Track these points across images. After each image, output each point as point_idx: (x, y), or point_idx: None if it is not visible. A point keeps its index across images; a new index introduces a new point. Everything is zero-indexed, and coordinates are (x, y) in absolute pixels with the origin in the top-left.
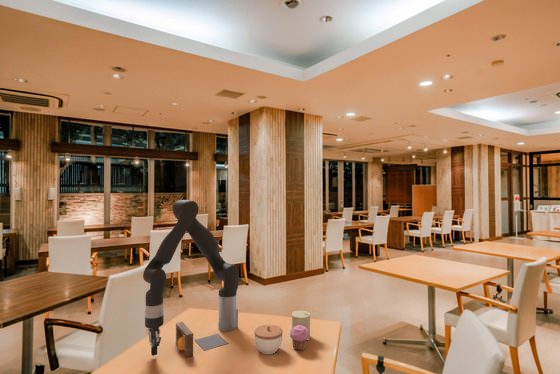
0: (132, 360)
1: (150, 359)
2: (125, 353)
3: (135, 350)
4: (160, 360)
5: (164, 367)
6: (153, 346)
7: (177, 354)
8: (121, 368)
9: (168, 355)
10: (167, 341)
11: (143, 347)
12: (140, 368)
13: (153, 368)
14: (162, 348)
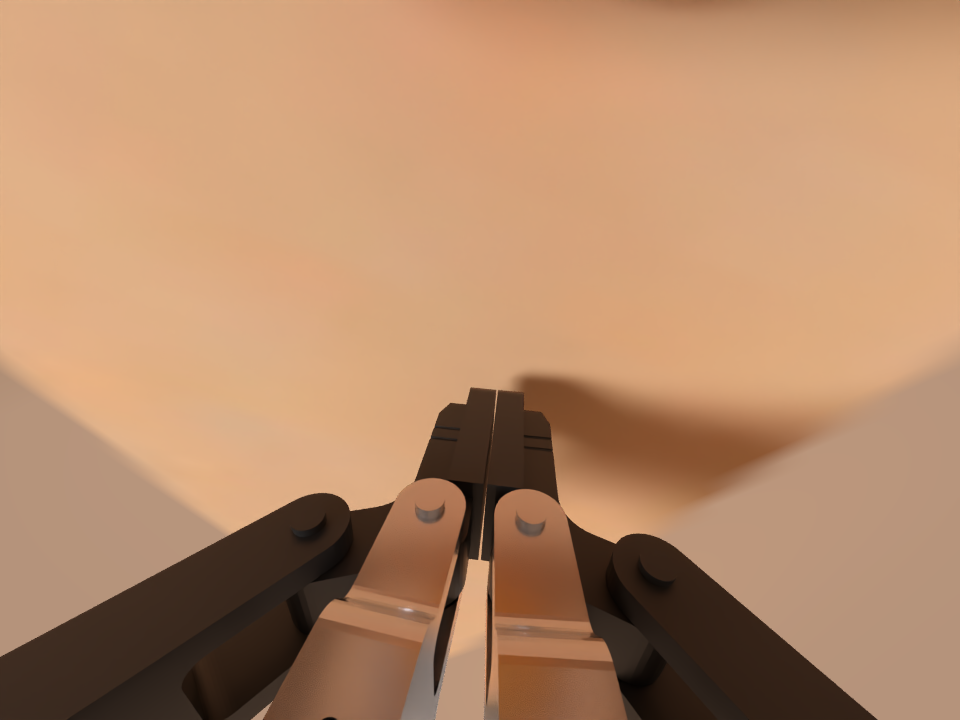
0: None
1: None
2: None
3: (216, 470)
4: (617, 350)
5: (844, 371)
6: (674, 671)
7: (651, 21)
8: None
9: (560, 201)
10: (22, 23)
11: (167, 396)
12: (615, 540)
13: (732, 467)
14: (274, 206)
